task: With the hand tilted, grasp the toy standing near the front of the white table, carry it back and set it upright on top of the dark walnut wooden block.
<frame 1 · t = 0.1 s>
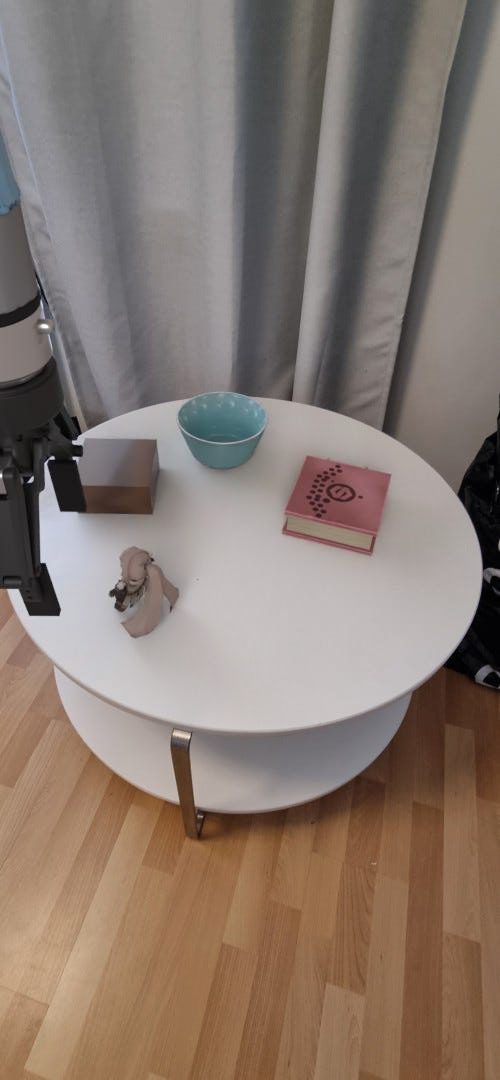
hand: (60, 557, 58), 23 cm above the table, tool pointing down, fingers open, 13 cm apart
bowl: (222, 454, 106), on the table
toy: (145, 616, 81), on the table
walnut block: (120, 489, 99), on the table
book: (335, 513, 97), on the table
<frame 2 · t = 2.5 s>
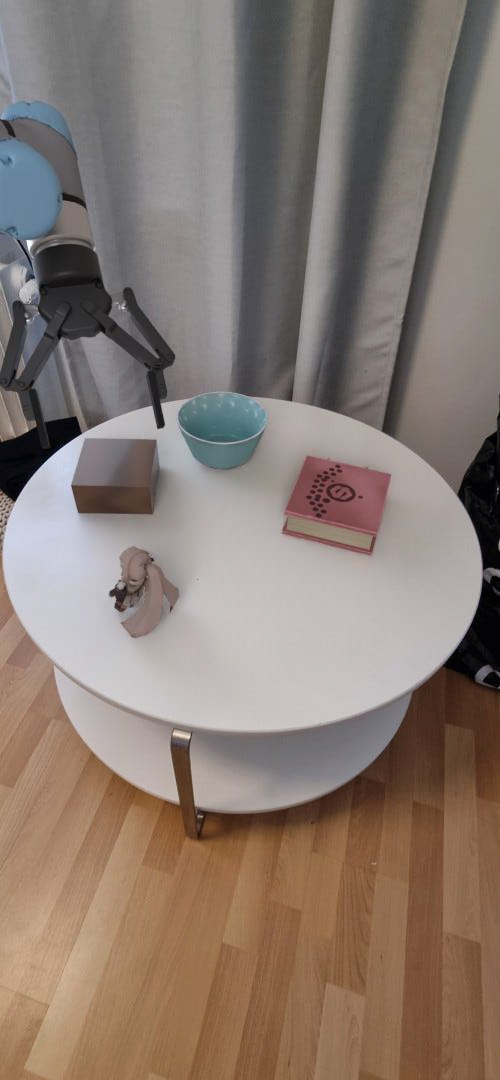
hand: (104, 437, 70), 24 cm above the table, tool tilted 45°, fingers open, 13 cm apart
nothing on the table moved.
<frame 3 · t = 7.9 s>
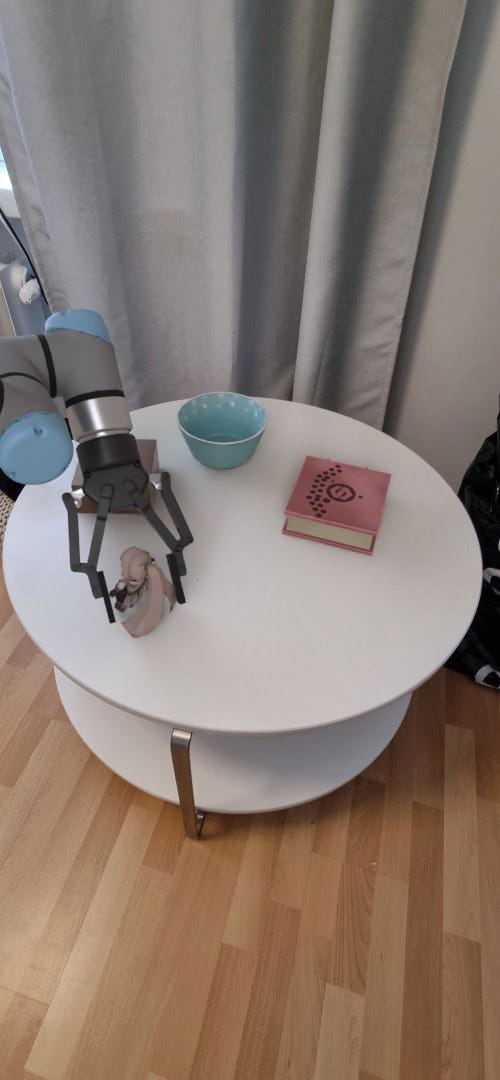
hand: (147, 611, 75), 5 cm above the table, tool tilted 45°, fingers closed on toy, 8 cm apart
toy: (145, 616, 81), on the table, touching gripper
everything else where it was.
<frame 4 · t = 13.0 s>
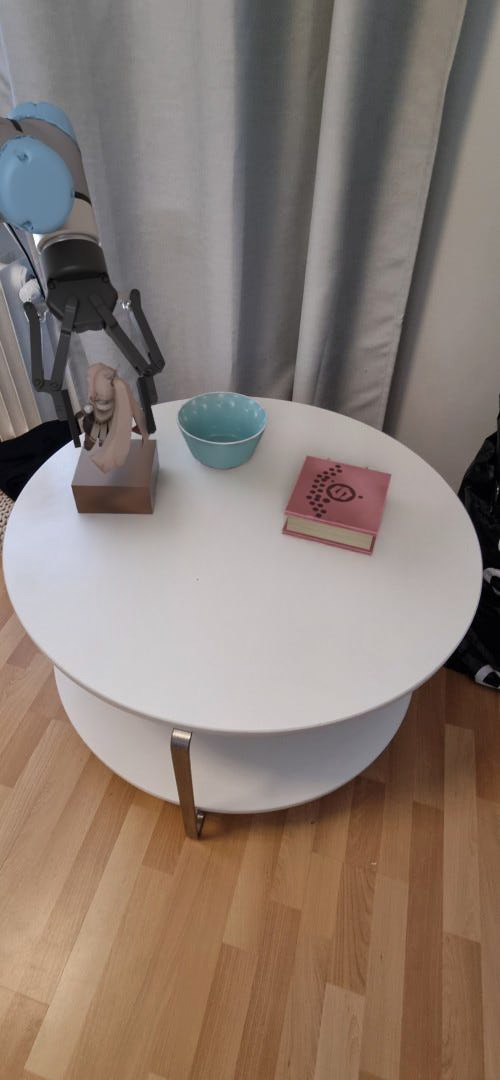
hand: (115, 438, 71), 23 cm above the table, tool tilted 45°, fingers closed on toy, 8 cm apart
toy: (116, 456, 77), point 18 cm above the table, touching gripper
everything else where it was.
when the fingers open (11 cm above the table, at t = 18.3 s): toy stays where it is, resting on walnut block.
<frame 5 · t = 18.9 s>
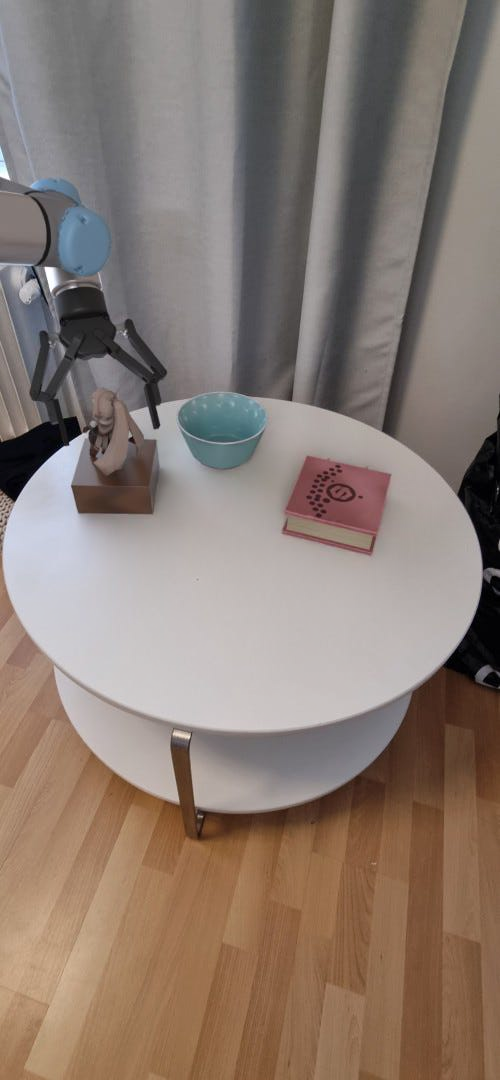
hand: (112, 436, 88), 13 cm above the table, tool tilted 45°, fingers open, 13 cm apart
toy: (116, 462, 94), point 6 cm above the table, touching walnut block
everything else where it was.
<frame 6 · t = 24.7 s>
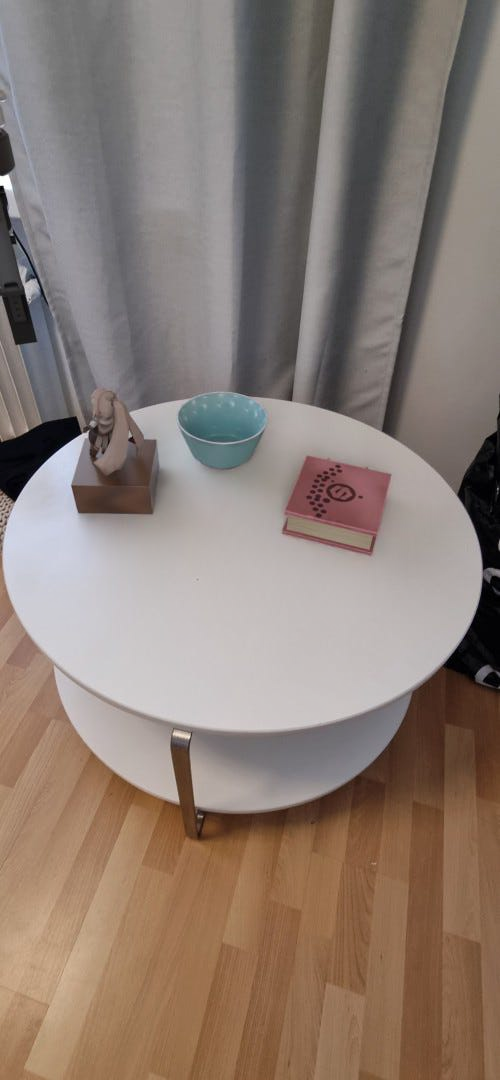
hand: (20, 318, 79), 29 cm above the table, tool pointing down, fingers open, 13 cm apart
nothing on the table moved.
at the end: toy inside the target area on the walnut block (0.1 cm from its centre), point 5.8 cm above the walnut block's base; toy tilted 0°; the gripper is holding nothing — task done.
